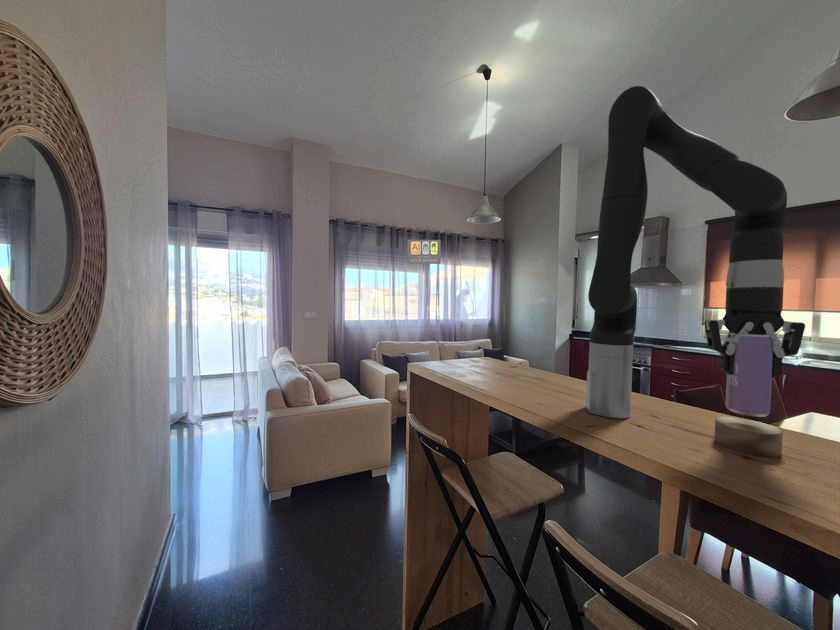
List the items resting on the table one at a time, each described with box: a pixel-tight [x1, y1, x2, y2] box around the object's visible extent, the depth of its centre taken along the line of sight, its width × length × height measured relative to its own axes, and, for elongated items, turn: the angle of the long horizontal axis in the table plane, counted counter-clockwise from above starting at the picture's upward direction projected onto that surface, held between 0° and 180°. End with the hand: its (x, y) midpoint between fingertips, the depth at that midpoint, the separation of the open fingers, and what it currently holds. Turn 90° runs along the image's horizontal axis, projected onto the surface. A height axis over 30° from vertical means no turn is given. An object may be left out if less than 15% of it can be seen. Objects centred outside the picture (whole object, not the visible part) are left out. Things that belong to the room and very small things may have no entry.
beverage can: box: [725, 333, 774, 418], centre depth 62 cm, size 6×6×15 cm
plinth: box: [713, 416, 784, 458], centre depth 62 cm, size 9×9×4 cm
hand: (749, 375), depth 62 cm, fingers closed on beverage can, 5 cm apart
